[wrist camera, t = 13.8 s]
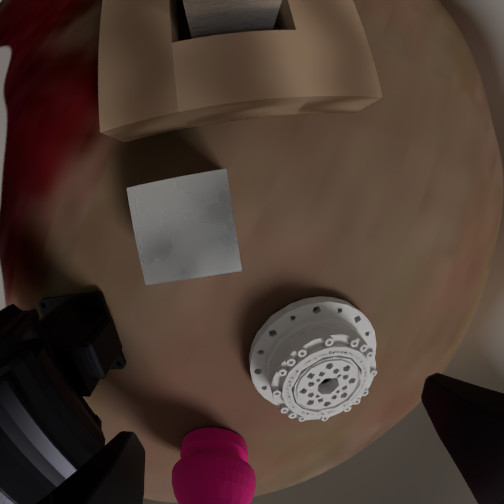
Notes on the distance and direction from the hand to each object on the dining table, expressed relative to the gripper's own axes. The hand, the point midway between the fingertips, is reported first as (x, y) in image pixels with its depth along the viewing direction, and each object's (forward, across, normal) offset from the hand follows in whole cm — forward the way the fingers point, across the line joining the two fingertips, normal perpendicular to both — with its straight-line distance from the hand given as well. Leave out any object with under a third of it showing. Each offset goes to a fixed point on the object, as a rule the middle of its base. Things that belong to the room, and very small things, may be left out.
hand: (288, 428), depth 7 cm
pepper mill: (+13, +6, +16) cm, 22 cm away
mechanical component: (+14, -4, +7) cm, 16 cm away
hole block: (+13, -1, -19) cm, 23 cm away
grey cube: (+13, +3, -5) cm, 14 cm away
